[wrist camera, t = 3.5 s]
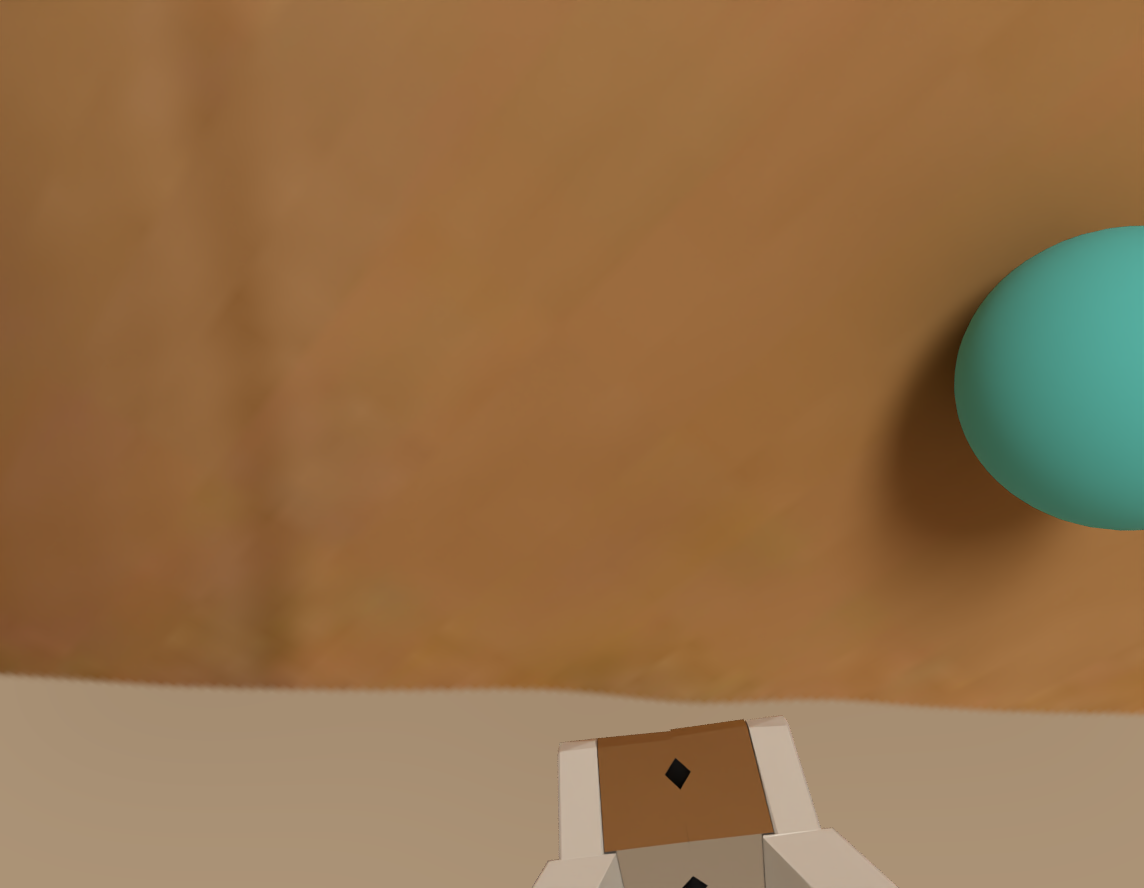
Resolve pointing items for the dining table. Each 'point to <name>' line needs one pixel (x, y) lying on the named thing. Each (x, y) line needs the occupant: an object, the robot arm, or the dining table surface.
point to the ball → (1063, 380)
